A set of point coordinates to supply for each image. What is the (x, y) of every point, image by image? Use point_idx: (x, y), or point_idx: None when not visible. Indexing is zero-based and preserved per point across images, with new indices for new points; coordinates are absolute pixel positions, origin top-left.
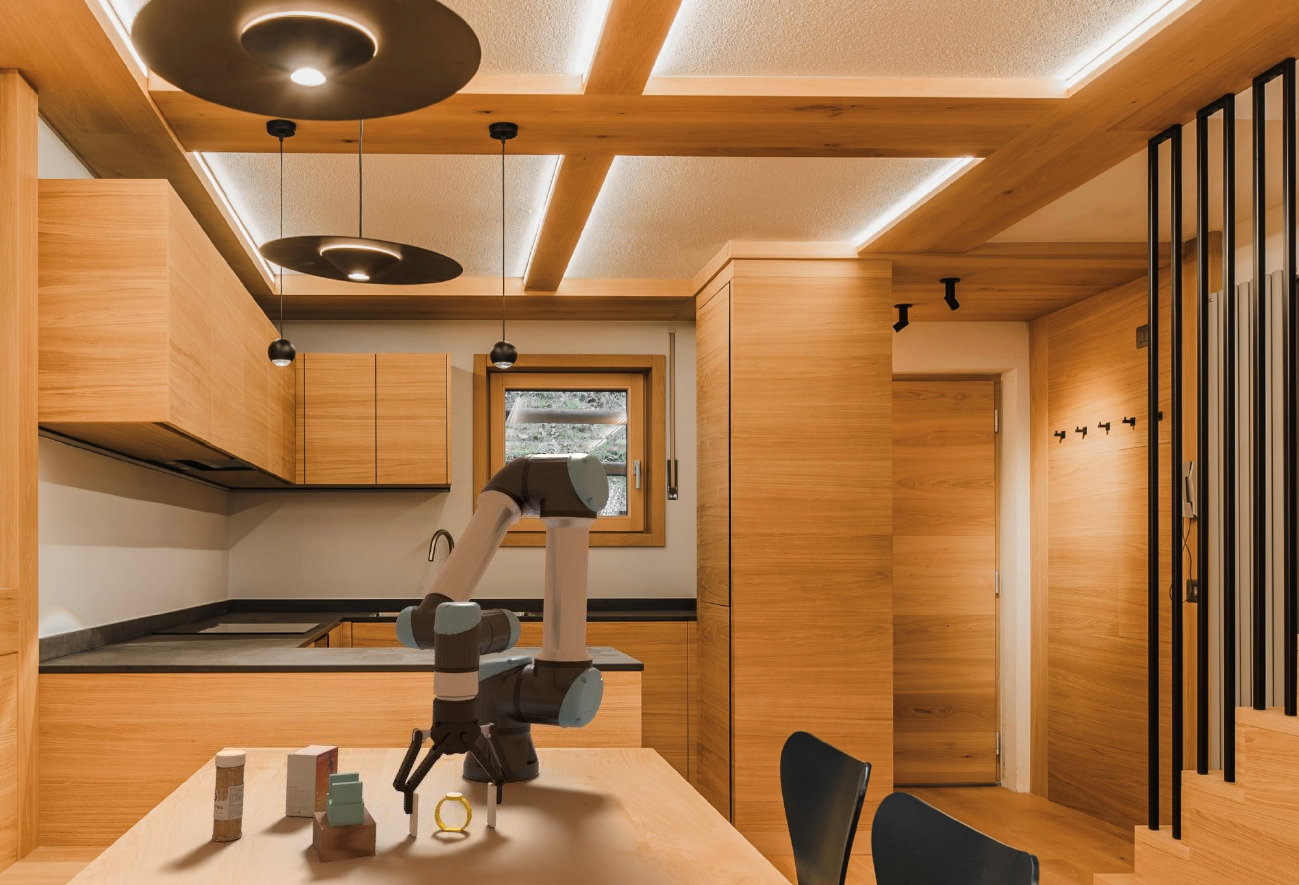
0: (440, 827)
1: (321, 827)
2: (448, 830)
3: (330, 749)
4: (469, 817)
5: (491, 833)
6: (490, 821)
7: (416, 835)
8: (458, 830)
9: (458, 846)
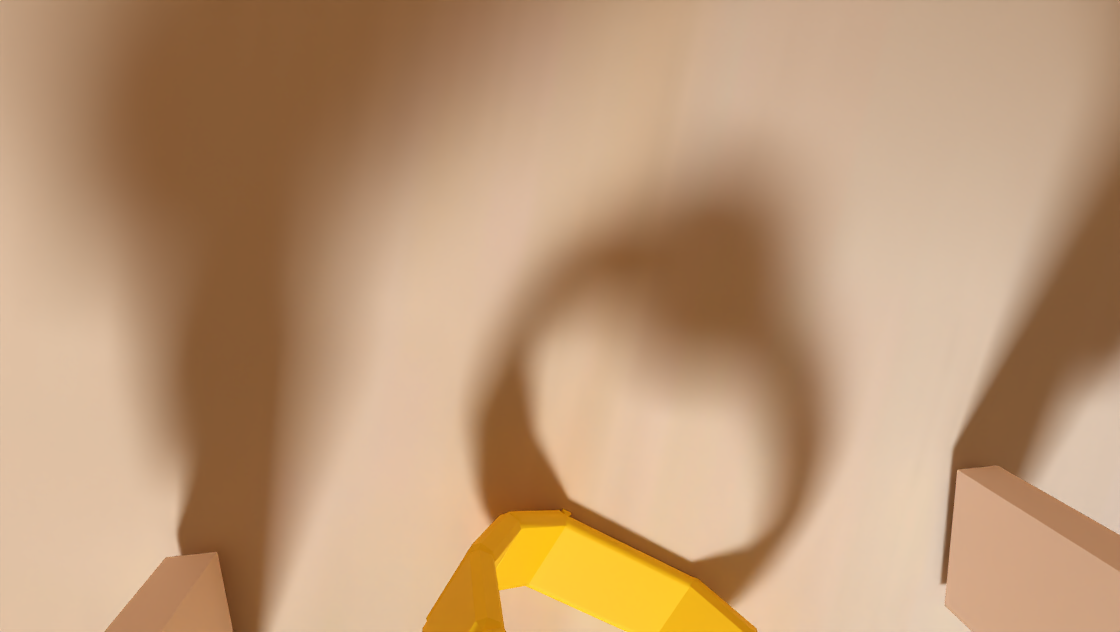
0: (732, 608)
1: None
2: (656, 563)
3: None
4: (468, 564)
5: (243, 387)
6: (204, 619)
7: (968, 471)
8: (572, 524)
9: (665, 50)
